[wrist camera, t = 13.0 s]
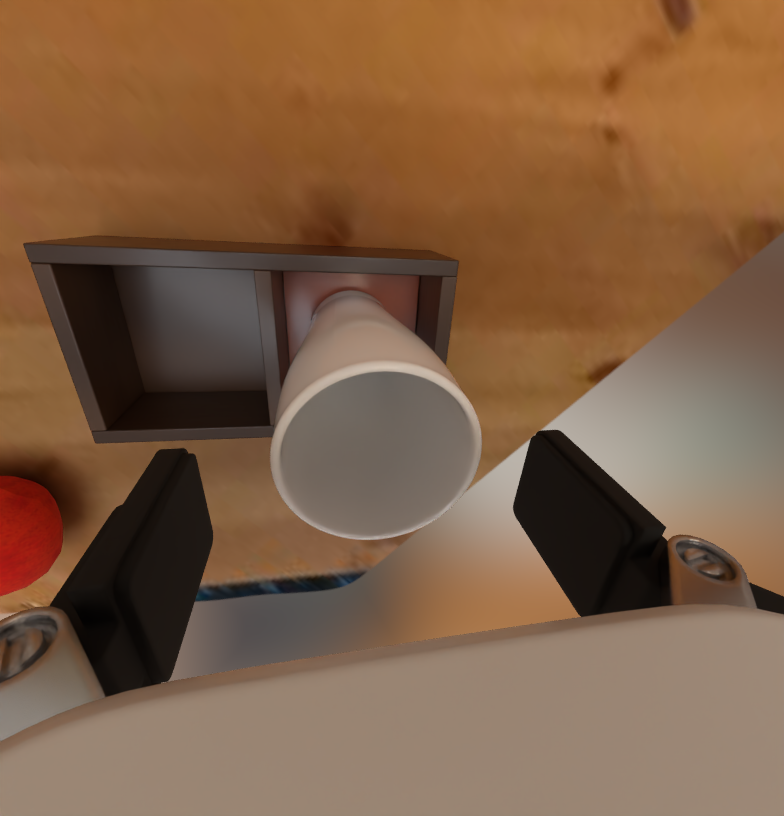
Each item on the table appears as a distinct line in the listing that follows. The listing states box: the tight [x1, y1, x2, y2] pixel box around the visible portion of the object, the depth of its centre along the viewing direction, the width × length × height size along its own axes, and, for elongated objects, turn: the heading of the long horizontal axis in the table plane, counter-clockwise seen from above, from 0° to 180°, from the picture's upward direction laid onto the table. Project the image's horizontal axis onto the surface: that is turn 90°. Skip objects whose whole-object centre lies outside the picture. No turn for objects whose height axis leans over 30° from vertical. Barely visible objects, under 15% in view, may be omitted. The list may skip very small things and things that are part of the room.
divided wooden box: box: [23, 236, 459, 443], centre depth 22 cm, size 10×19×6 cm, turn 87°
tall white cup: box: [270, 290, 482, 540], centre depth 18 cm, size 7×7×15 cm
